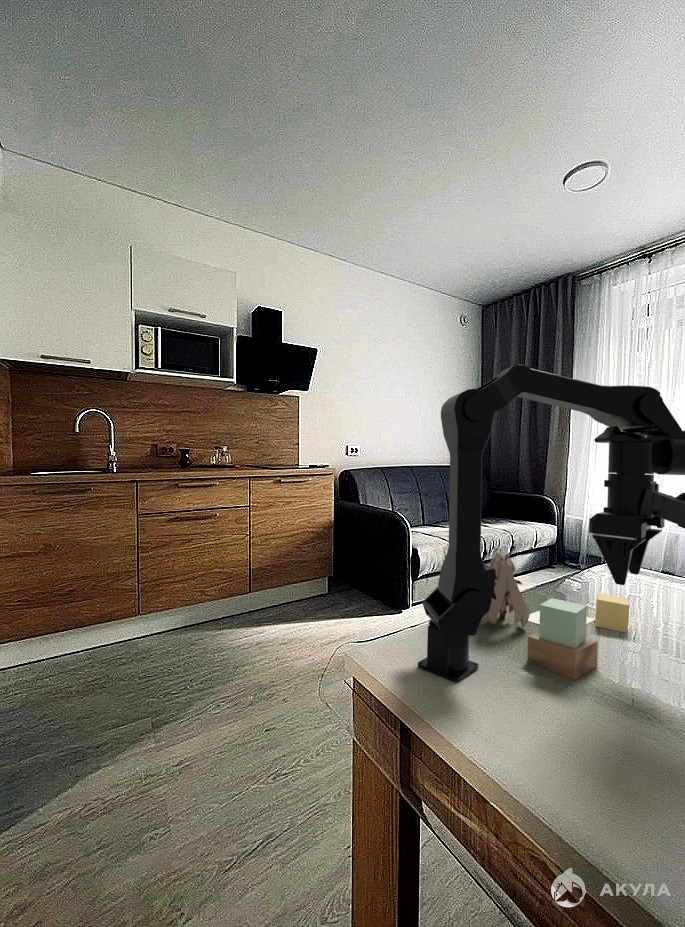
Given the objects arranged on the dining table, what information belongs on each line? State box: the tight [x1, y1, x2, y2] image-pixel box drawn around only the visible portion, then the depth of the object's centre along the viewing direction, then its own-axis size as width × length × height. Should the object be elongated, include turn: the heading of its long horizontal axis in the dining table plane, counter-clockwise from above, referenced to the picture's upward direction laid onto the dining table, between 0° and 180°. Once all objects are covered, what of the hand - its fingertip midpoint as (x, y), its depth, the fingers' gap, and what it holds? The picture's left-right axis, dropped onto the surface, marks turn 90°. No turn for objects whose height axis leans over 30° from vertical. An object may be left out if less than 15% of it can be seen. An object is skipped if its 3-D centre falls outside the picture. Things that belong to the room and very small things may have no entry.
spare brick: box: [594, 592, 630, 633], centre depth 83 cm, size 5×5×5 cm
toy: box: [480, 552, 530, 629], centre depth 82 cm, size 9×8×15 cm
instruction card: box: [527, 610, 595, 626], centre depth 86 cm, size 12×9×1 cm
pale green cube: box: [538, 597, 588, 648], centre depth 67 cm, size 5×5×5 cm
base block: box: [526, 631, 599, 680], centre depth 67 cm, size 7×7×4 cm
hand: (627, 579), depth 66 cm, fingers open, 9 cm apart
